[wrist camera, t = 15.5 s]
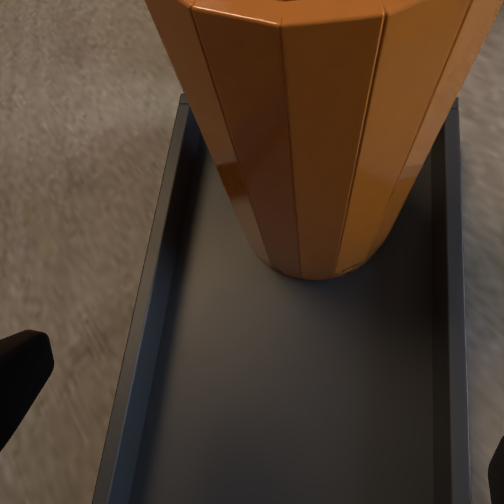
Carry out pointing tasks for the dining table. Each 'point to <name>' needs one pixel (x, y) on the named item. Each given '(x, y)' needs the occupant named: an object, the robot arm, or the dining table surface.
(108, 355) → the dining table surface
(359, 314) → the tray
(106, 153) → the dining table surface
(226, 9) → the tumbler
